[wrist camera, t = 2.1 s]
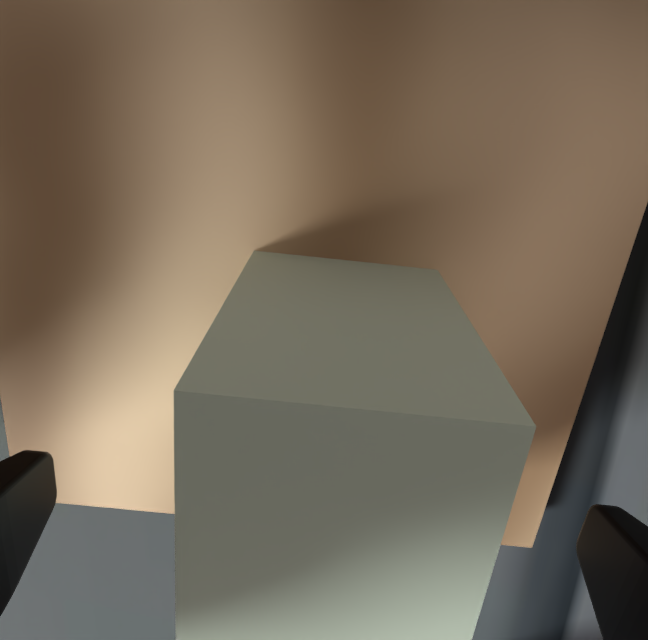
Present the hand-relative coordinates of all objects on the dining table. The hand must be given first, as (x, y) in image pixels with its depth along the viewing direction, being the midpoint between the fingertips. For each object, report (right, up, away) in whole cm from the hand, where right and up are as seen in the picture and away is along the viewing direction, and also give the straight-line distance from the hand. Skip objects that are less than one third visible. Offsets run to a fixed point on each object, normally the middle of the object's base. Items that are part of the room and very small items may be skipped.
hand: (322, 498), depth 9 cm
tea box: (0, +2, +4) cm, 4 cm away
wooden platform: (-1, +4, +4) cm, 6 cm away
